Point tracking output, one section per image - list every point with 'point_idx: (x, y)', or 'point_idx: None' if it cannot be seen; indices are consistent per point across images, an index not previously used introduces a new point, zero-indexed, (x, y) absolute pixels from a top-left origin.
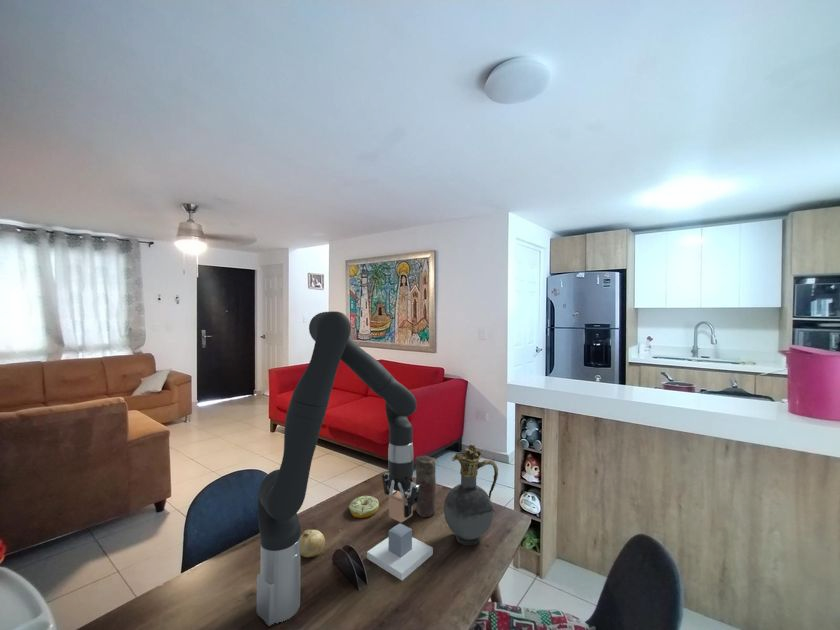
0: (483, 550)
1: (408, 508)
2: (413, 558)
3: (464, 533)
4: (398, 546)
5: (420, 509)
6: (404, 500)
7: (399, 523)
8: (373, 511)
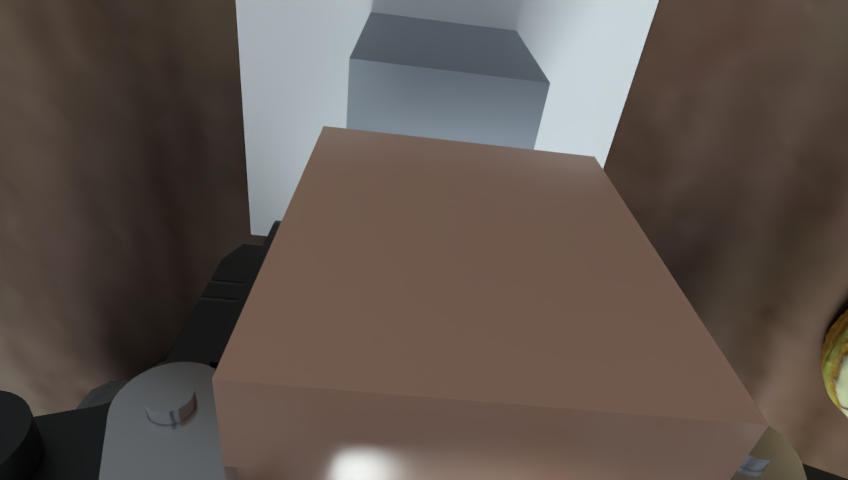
0: (74, 366)
1: (183, 341)
2: (280, 63)
3: (83, 401)
4: (395, 34)
5: None
6: (211, 471)
7: None
8: (846, 337)
